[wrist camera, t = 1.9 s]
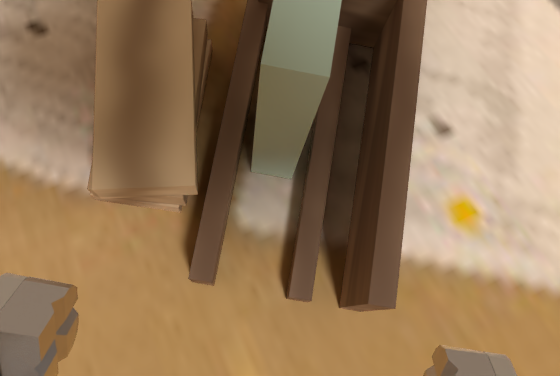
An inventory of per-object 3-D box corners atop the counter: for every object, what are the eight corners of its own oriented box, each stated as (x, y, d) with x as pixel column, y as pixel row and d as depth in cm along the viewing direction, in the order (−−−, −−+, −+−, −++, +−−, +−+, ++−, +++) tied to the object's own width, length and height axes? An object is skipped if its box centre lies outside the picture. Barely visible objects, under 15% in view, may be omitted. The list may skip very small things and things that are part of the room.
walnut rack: (393, 35, 41) (430, -32, 33) (360, 311, 35) (395, 308, 27) (250, 6, 40) (253, -68, 33) (192, 281, 34) (179, 270, 27)
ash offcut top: (193, 16, 36) (190, -4, 33) (197, 194, 32) (195, 185, 30) (105, 16, 35) (97, -4, 33) (101, 198, 32) (91, 189, 30)
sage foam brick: (301, 116, 38) (345, -22, 23) (291, 178, 37) (329, 77, 22) (262, 109, 38) (280, -35, 23) (250, 171, 37) (260, 63, 21)
